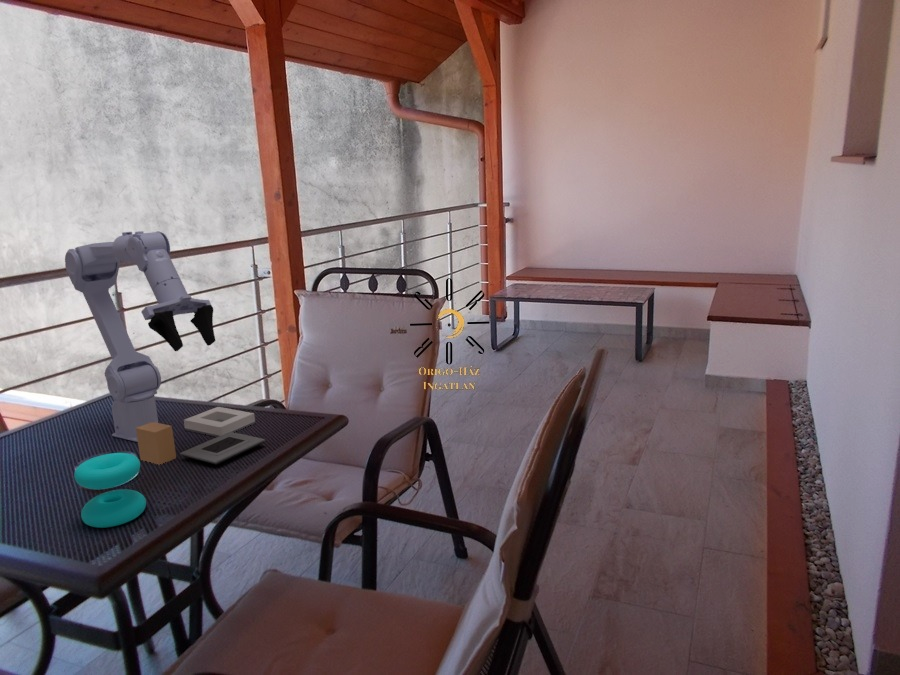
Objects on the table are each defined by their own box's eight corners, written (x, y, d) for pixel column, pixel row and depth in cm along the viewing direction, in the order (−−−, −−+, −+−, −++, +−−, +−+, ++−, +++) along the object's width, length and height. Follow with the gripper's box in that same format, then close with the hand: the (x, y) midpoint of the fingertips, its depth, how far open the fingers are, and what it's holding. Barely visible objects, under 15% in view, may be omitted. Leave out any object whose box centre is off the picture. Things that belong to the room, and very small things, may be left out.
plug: (140, 460, 142) (135, 428, 140) (157, 453, 145) (152, 421, 143) (159, 465, 139) (154, 432, 137) (176, 458, 142) (171, 425, 140)
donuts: (88, 479, 108) (62, 464, 115) (98, 537, 111) (72, 519, 117) (149, 458, 116) (122, 445, 122) (158, 513, 118) (130, 497, 124)
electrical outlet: (231, 440, 151) (230, 430, 151) (266, 448, 146) (264, 437, 146) (181, 462, 141) (179, 451, 140) (216, 472, 135) (215, 460, 135)
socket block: (185, 430, 158) (183, 419, 157) (219, 416, 166) (218, 406, 166) (221, 438, 152) (220, 427, 151) (255, 423, 160) (254, 413, 160)
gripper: (144, 277, 129) (174, 341, 127) (207, 273, 141) (236, 331, 139) (126, 297, 132) (155, 359, 130) (189, 291, 144) (217, 347, 142)
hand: (195, 345), depth 135 cm, fingers open, 7 cm apart
